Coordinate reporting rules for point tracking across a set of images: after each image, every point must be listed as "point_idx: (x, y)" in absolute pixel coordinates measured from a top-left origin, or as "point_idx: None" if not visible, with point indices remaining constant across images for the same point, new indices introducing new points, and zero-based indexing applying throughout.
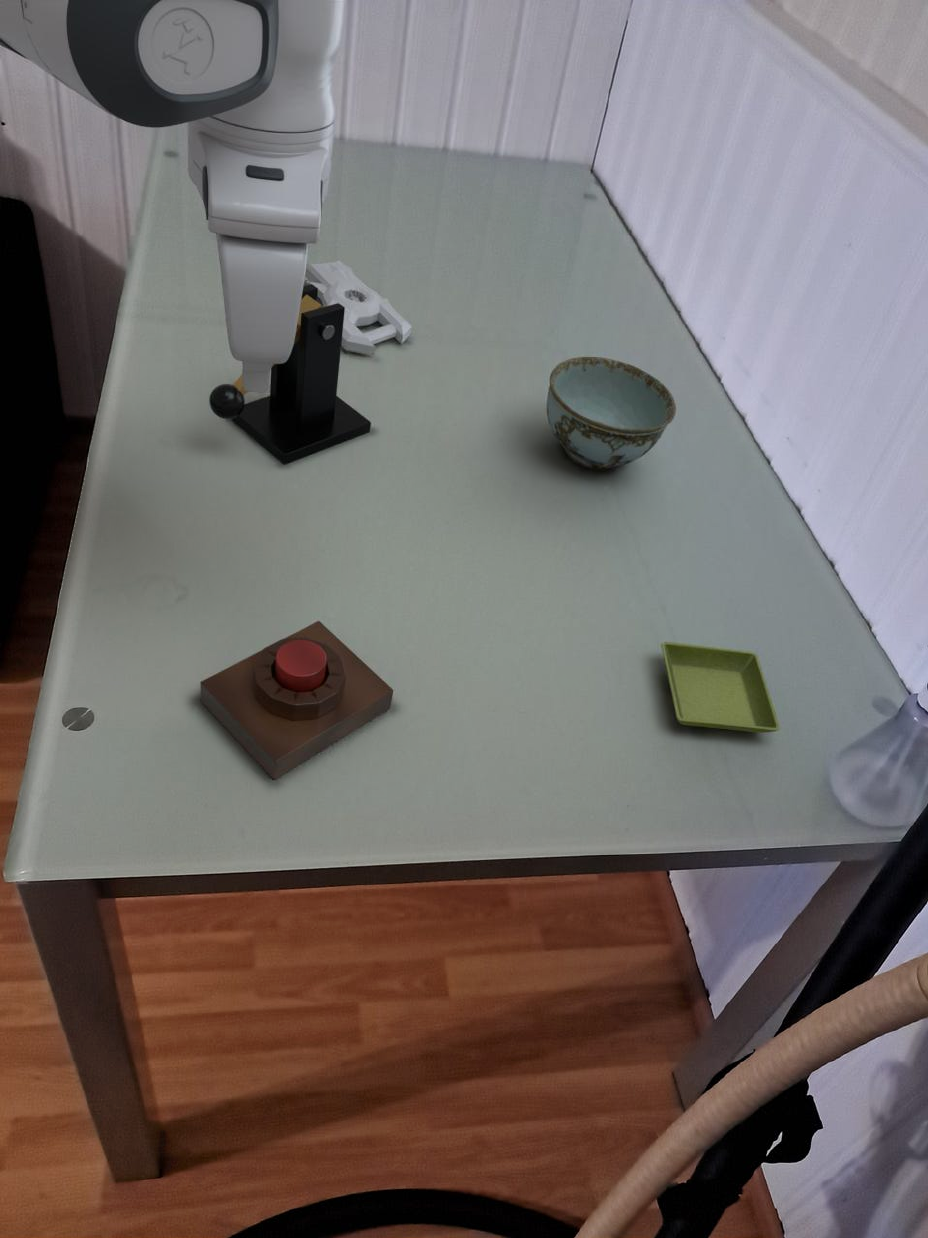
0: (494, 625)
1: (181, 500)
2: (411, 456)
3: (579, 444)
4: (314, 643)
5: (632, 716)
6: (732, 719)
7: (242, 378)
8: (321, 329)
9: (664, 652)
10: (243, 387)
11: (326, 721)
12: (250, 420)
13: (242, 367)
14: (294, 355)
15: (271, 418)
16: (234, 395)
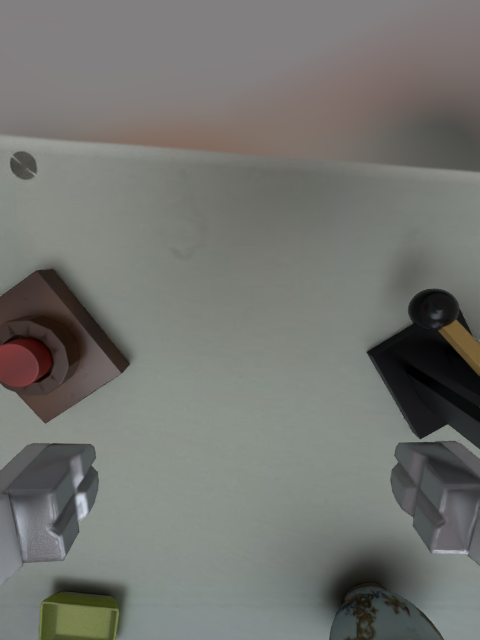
0: (153, 494)
1: (315, 252)
2: (372, 462)
3: (345, 622)
4: (34, 378)
5: (67, 563)
6: (63, 622)
7: (36, 456)
8: None
9: (106, 609)
10: (28, 446)
11: None
12: None
13: (68, 466)
14: None
15: (435, 346)
16: (431, 321)
